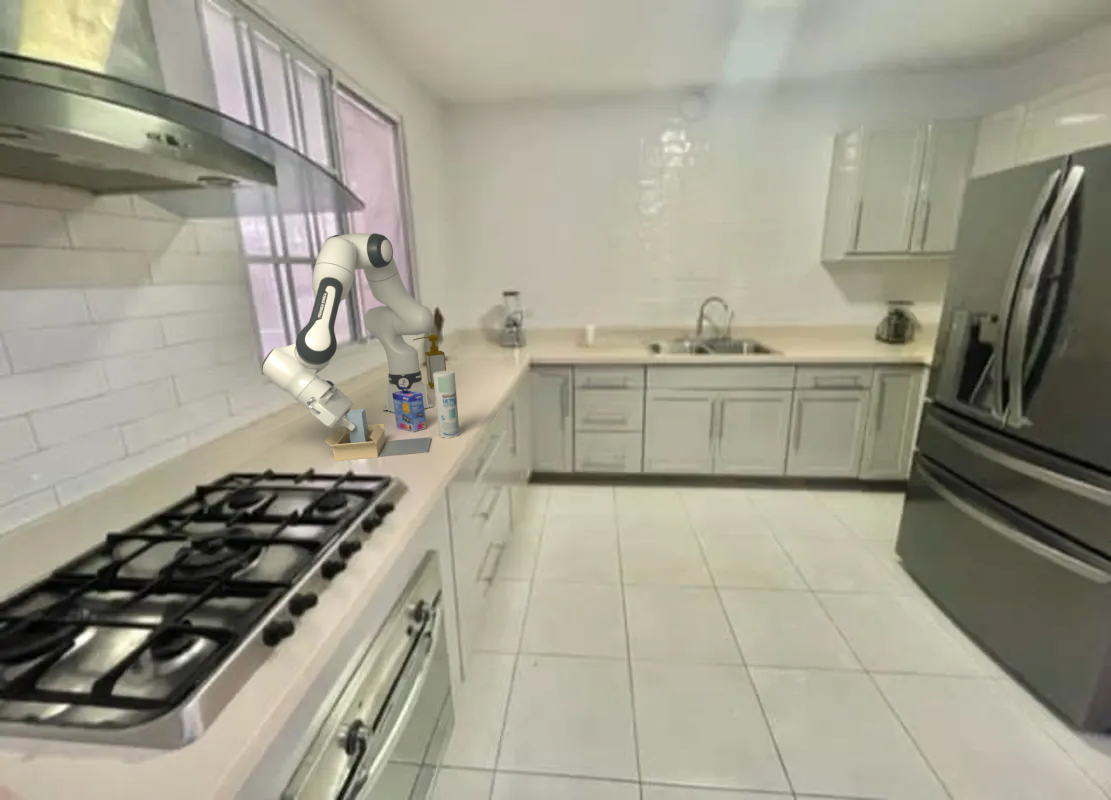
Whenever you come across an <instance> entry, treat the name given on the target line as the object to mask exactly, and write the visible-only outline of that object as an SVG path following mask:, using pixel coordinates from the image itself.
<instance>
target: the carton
mask: <svg viewBox="0 0 1111 800" xmlns="http://www.w3.org/2000/svg"><path fill="white" fill-rule="evenodd" d="M344 429H345V430H344V432H343V431H341V430H339V429H337V428H336V429H334V431H333V432H332V433H331V434H330V436H329V437H328V438H327V439H326V440H325V441H324V443H326V444H328V446H330V447H332V452H333V459H334V462H337V461H338V462H340V461H350V460H351V461H352V460H353V461H354V460H362V459H374V458H378V457H379V456H380V454H381V452H382V450H383V448H384V447H385V445H386V435H385V423H378V424H377V423H376V424H367V429H368V437H369V442H360V443H351V441H350V434H349V429H348V428H346V427H344Z"/></svg>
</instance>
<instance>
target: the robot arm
mask: <svg viewBox="0 0 1111 800" xmlns="http://www.w3.org/2000/svg"><path fill="white" fill-rule="evenodd" d="M356 270H363V273H364V276H365V278H366V281H367V284H368V286H369V289H370V291H371V294H372V296H373V297H374V299H375V300H376V301H378V302H379V303H381V304H383V305H380V306H376V307H372V308H369V309H368V310H367V311H366V312H365V315H364V325H365V328H366V331H368V332H369V333H370V334H371V335H373V336H374V337H375V338H376V339H377V340H378V341H379V342H380V344H381V345H382V347H383V349H384V351H385V354H386V358H387V359H386V360H387V365H388V374H387V375H388V377H387V378H388V383H389V385H388V386H387V388H385V394H386V405H384V406H383V408H382V411H383V410H388V411H387V412H390V411H391V412H390V413H395V410H394V402H393V395H392V393H394V392H399V391H402V390H401V389H400V387H399V386H401V387H406V388H407V389H408V390H409V391H411V392H419V393H422V396H423V404H424V410H425V408H426V409H428V408H429V407H430V408H433V407H434V406H435V405H434V402H432V399H430V397H429V394H428V392H427V385H425V383H423V381H422V380H423V378H422V376H423V375H422V371H421V369H420V362H419V353H418V351H417V349H416V348H415V347H414V346H412V345H410V344H408V343H407V342H406V341H405V340H404V338H403V336H417V335H423V334H426V333H429V332H430V331H431V330H432V328H433V325H434V315H433V312H432V310H431V309H430V308H429V307H428V306H426V305H424V304H422V303H420V302H418V301H417V300H416V299H415V298H414V297H413V296H412V295H411V294H410V293H409V292H408V290H407V289H406V287H405V285H404V282H403V279H402V278H401V275H400V272H399V269H398V265H397V263H396V261H395V259H394V249H393V244H392V243H391V241H390V240H389V239H388V238H387V237H386V236H385V235H384V234H381V233H376V232H375V233H367V232H366V233H364V232H355V233H347V234H335V235H332V236H329V237H328V238H326V240H325V241H324V244H323V245H322V246H321V248H320V251H319V253H318V254H317V258H316V261H315V264H314V267H313V272H312V279H311V289H312V291H313V293H314V294H315V299H314V303H313V306H312V309H311V310H312V311H311V314H310V318H309V320H308V323H307V324H306V325H305V326H303V328H302V329H301V330H300V332H299V333H298V334H297V336H296V338H295V339H296V340H295V343H292V344H289V345H285V346H281V347H273V349H271V350H270V351H269V352H268V354H267V355H266V357H265V358H264V360H263V362H262V366H261V370H262V374H264V376H265V377H266V378H267V379H268V380H269V381H271V382H272V384H273V385H276V386H277V388H279V389H280V390H282V391H283V392H286V393H288V394H289V395H290V396H292V397H293V399H294V400H295V401H296V402H298V403H299V404H301V405H302V406H303V407H304V408H306V409H307V410H308V411H310V413H311V414H312V415H313V416H314V418H316V419H317V420H318V421H320V422H321V423H322V424H324V426H326V427H328V428H333V427H334V426H335V425H336V424H338V425H339V426H342V427H344V428H345V427H346V428H348V429H349V430H350V431H352V430H353V429H354V428H355V427H356V424H354V423H353V422H350V421H348V419H346V418H347V413H348V412H349V411H350V410H352V409H351V407H353V405H354V403H353V401H352V399H350V397H349V396H347V395H346V394H345V393H344V392H343V391H342V390H340V389H339V388H337V387H336V384H335V383H334V382H333V381H331V380H326V379H323V378H321V376H319V375H317V374H318V373H319V372H321V371H322V370H324V369H325V368H326V367H327V366H328V365H329V364H330V362H331V360H332V358H333V357H334V355H335V354H336V353H337V349H338V343H337V337H336V332H335V324H336V320H337V316H338V313H339V312H338V311H339V307H340V304H341V303H342V301H345V300H346V298H347V296H348V294H349V292H350V290H351V288H352V285H353V282H354V277H355V273H356ZM402 389H403V390H406V389H404V388H402Z"/></svg>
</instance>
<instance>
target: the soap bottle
mask: <svg viewBox="0 0 1111 800" xmlns="http://www.w3.org/2000/svg"><path fill="white" fill-rule="evenodd" d="M438 338H440V336H439V335H436V334H430V335H428V336H422V337H416V338H413V339H412V341H418V340H422V339H428V342H431V346H429V349H430V351H425V352H424V353H425V354H424V355H425V366H426V376H427V386H428V385H429V386H430V387H434V378H433V373H435V372H439V371H447V366H446V365H447V363H446V355H445V352H444V351H443V350H439V346H438V345H437V344H436V343H437V342H438V340H439V339H438ZM429 386H428V387H429ZM430 387H429V388H430Z"/></svg>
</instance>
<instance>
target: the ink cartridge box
mask: <svg viewBox="0 0 1111 800" xmlns="http://www.w3.org/2000/svg"><path fill="white" fill-rule="evenodd" d="M399 387H400V389H401V390H402V391H399V392H394V393H392V395H393V402H394V410H395V412H394V414H395V415H394V416H395V417H394V418H395V425H396V428H397V427H398V428H397V429H400V428H402V429H401V430H403V429H405V430H404V431H407V430H409V431H408V432H411V431H416V432H419V431H422V430H421V429H423V430H425V429H424V428H426V429H427V419H426V413H425V409H424V404H423V396H422V393H419V392H411V391H409V390H408V389H407V388H406V387H401V386H399ZM402 388H404V389H406V390H403V389H402ZM418 430H419V431H418Z"/></svg>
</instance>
